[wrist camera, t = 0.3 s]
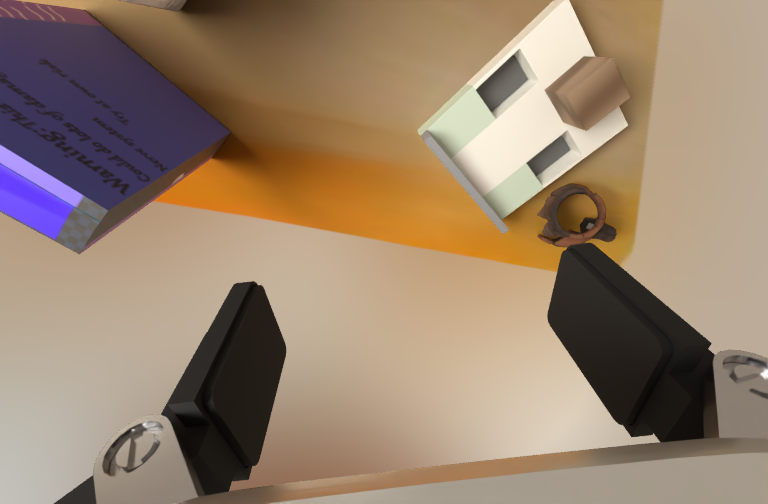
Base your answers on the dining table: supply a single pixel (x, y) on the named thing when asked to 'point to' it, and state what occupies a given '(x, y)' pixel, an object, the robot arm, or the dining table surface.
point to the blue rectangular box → (88, 125)
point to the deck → (517, 118)
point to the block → (588, 91)
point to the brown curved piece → (588, 226)
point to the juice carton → (160, 3)
